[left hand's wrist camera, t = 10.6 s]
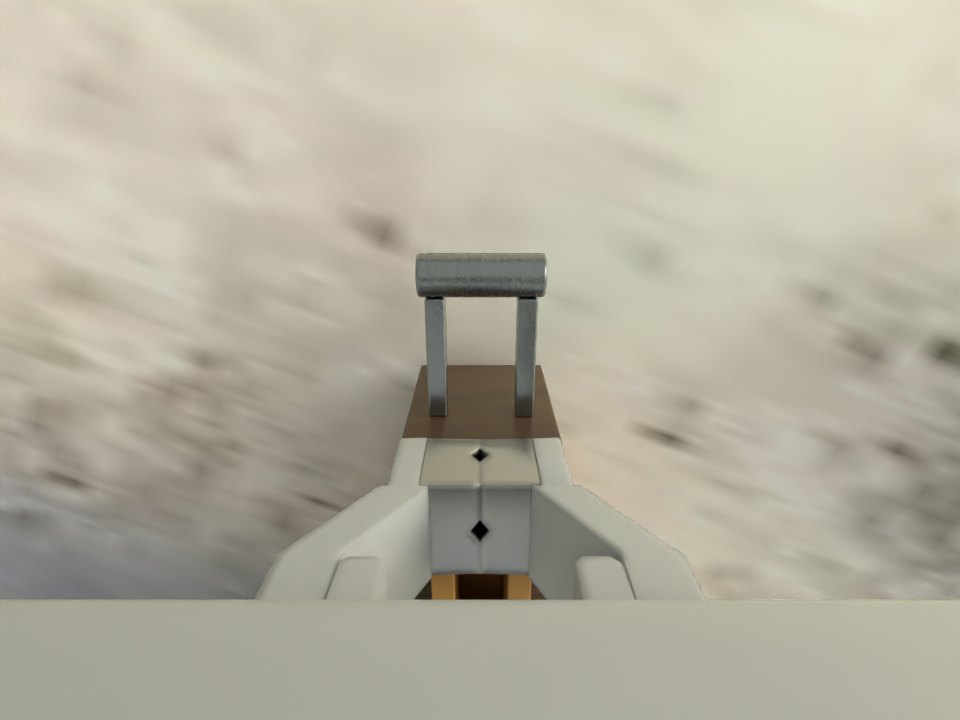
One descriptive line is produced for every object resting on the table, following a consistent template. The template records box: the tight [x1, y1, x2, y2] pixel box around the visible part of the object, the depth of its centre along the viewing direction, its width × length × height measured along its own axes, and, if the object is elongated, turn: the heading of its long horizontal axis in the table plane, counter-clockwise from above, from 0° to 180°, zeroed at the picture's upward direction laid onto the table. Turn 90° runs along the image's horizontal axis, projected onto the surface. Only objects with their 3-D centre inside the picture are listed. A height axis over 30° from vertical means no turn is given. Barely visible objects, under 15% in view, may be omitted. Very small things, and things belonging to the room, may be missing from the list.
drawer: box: [402, 253, 562, 600], centre depth 21 cm, size 24×5×6 cm, turn 0°
